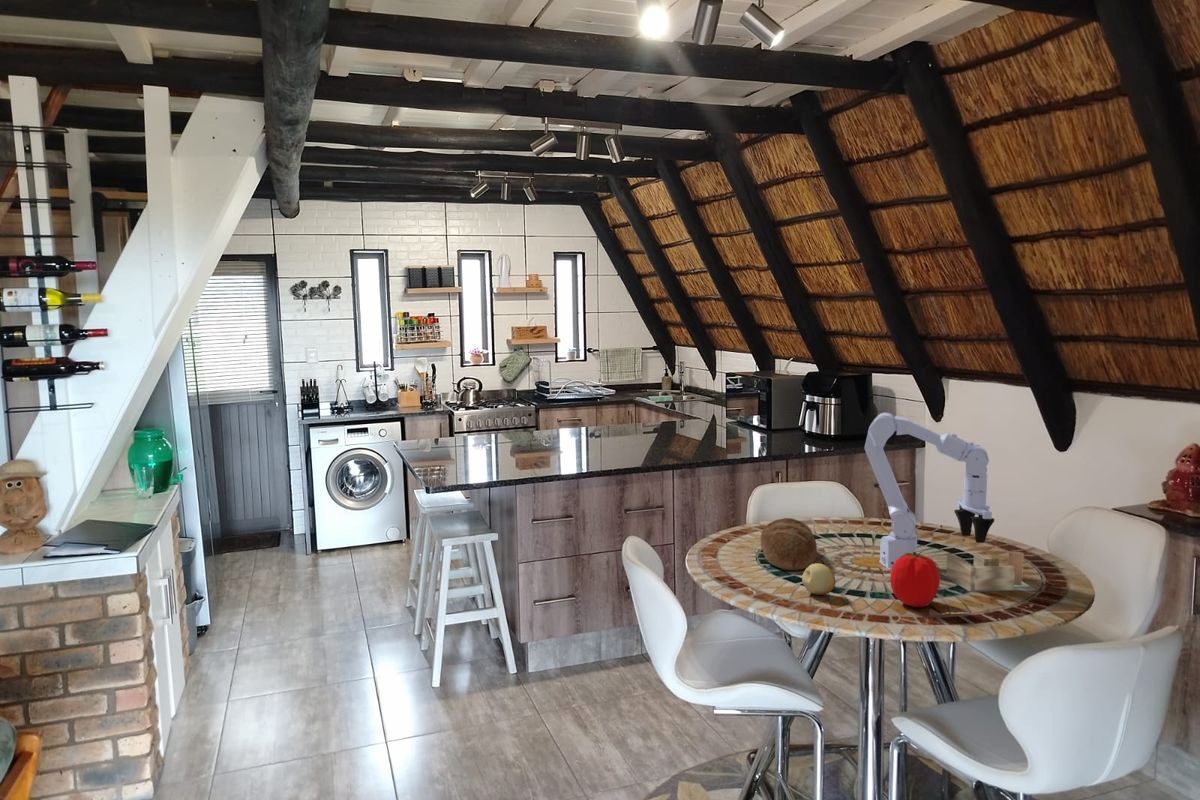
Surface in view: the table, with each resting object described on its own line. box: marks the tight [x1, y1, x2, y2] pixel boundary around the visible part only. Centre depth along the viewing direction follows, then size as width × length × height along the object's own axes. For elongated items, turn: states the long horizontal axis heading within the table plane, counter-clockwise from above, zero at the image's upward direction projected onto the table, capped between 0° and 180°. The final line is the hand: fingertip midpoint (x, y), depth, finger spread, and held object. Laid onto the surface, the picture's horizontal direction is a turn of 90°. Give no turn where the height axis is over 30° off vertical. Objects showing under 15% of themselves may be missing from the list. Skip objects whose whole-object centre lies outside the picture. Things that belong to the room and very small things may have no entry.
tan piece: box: [945, 553, 1015, 591], centre depth 218 cm, size 12×13×6 cm
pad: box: [1014, 581, 1030, 587], centre depth 217 cm, size 5×5×1 cm
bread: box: [760, 517, 818, 571], centre depth 243 cm, size 16×29×11 cm, turn 173°
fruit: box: [801, 562, 836, 596], centre depth 209 cm, size 8×8×8 cm
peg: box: [1007, 550, 1025, 585], centre depth 216 cm, size 4×4×8 cm
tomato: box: [889, 550, 941, 608], centre depth 201 cm, size 12×12×13 cm
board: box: [939, 572, 1037, 593], centre depth 219 cm, size 18×16×1 cm
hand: (972, 538), depth 227 cm, fingers open, 7 cm apart
